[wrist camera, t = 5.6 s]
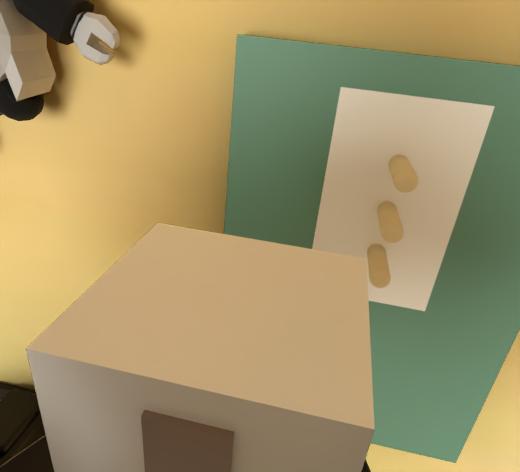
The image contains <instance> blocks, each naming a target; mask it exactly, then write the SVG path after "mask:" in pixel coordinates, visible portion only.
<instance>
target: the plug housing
mask: <svg viewBox="0 0 520 472" xmlns="http://www.w3.org/2000/svg"><path fill="white" fill-rule="evenodd" d="M26 352H27V356H28V361H29V365H30V369H31V373H32V378H33V382H34V386H35V391H36V395H37V399H38V404H39V408H40V412H41V417H42V421H43V425H44V430H45V434H46V438H47V442H48V447H49V451H50V455H51V460H52V464H53V468H54V472H361V471H362V468H363V465H364V462H365V458H366V455H367V452H368V449H369V446H370V442H371V439H372V436H373V433H374V430H375V427H374V406H373V385H372V364H371V343H370V322H369V300H368V279H367V259H366V258H360V257H354V256H349V255H343V254H337V253H331V252H325V251H320V250H314V249H308V248H302V247H297V246H291V245H285V244H279V243H273V242H268V241H262V240H256V239H250V238H244V237H239V236H233V235H227V234H221V233H215V232H210V231H204V230H198V229H192V228H186V227H181V226H175V225H169V224H163V223H157V224H156V225H155V226H154V227H153V228H152V229H151V230H150V231H149V232H148V233H146V234H145V235H144V236H143V237H142V238H141V239H140V240H139V241H138V242H137V243H136V244H135V245H134V246H133V247H132V248H131V249H130V250H129V251H128V252H127V253H125V254H124V255H123V256H122V257H121V258H120V259H119V260H118V261H117V262H116V263H115V264H114V265H113V266H112V267H111V268H110V269H109V270H108V271H107V272H106V273H105V274H103V275H102V276H101V277H100V278H99V279H98V280H97V281H96V282H95V283H94V284H93V285H92V286H91V287H90V288H89V289H88V290H87V291H86V292H85V293H84V294H82V295H81V296H80V297H79V298H78V299H77V300H76V301H75V302H74V303H73V304H72V305H71V306H70V307H69V308H68V309H67V310H66V311H65V312H64V313H63V314H62V315H60V316H59V317H58V318H57V319H56V320H55V321H54V322H53V323H52V324H51V325H50V326H49V327H48V328H47V329H46V330H45V331H44V332H43V333H42V334H41V335H39V336H38V337H37V338H36V339H35V340H34V341H33V342H32V343H31V344H30V345H29V346H28V347H27V348H26Z"/></svg>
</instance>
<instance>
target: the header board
mask: <svg viewBox="0 0 520 472" xmlns="http://www.w3.org/2000/svg"><path fill="white" fill-rule="evenodd" d="M224 234H227V235H233V236H239V237H244V238H250V239H256V240H262V241H268V242H273V243H279V244H285V245H291V246H297V247H302V248H308V249H314V250H320V251H325V252H331V253H337V254H343V255H349V256H354V257H360V258H366V259H367V279H368V300H369V322H370V343H371V364H372V385H373V406H374V427H375V430H374V433H373V436H372V439H371V442H370V443H372V444H376V445H381V446H385V447H389V448H394V449H398V450H402V451H406V452H411V453H415V454H419V455H424V456H428V457H432V458H437V459H441V460H445V461H449V462H454V463H456V461H457V459H458V457H459V455H460V453H461V451H462V449H463V446H464V444H465V442H466V440H467V438H468V436H469V434H470V432H471V430H472V428H473V425H474V423H475V421H476V419H477V417H478V415H479V413H480V411H481V409H482V407H483V405H484V402H485V400H486V398H487V396H488V394H489V392H490V390H491V388H492V386H493V384H494V382H495V379H496V377H497V375H498V373H499V371H500V369H501V367H502V365H503V363H504V361H505V358H506V356H507V354H508V352H509V350H510V348H511V346H512V344H513V342H514V340H515V338H516V335H517V333H518V331H519V329H520V66H516V65H507V64H498V63H489V62H480V61H471V60H463V59H454V58H445V57H436V56H427V55H418V54H409V53H401V52H392V51H383V50H374V49H365V48H356V47H347V46H339V45H330V44H321V43H312V42H303V41H294V40H286V39H277V38H268V37H259V36H250V35H240V34H237V47H236V62H235V76H234V91H233V106H232V120H231V135H230V150H229V164H228V179H227V194H226V208H225V223H224Z"/></svg>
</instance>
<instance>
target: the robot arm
mask: <svg viewBox="0 0 520 472" xmlns="http://www.w3.org/2000/svg"><path fill="white" fill-rule="evenodd" d="M0 472H54V468H53V464H52V460H51V455H50V451H49V447H48V442H47V438H46V434H45V430H44V425H43V421H42V417H41V412H40V408H39V404H38V399H37V395H36V392H35V391H31V390H27V389H22V388H18V387H14V386H10V385H6V384H2V383H0ZM361 472H371V471H370V469H369V466H368V464H367V461H366V459H365V462H364V465H363V468H362V471H361Z"/></svg>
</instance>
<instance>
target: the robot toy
mask: <svg viewBox="0 0 520 472" xmlns="http://www.w3.org/2000/svg"><path fill="white" fill-rule="evenodd" d="M93 9H94V5H93V4H92V3H91V2H89V1H88V0H0V115H3V114H4V115H6V116H7V117H9V118H11V119H14V120H17V121H24V120H31V119H33V118H35V117H36V116H37V115H38V114H39V113H40V112H41V111H42V109H43V105H44V99H43V95H42V94H43V93H46V92H50V90H51V88H52V85H53V82H54V80H55V77H56V73H55V70H54V67H53V65H52V62H51V59H50V56H49V53H48V50H47V34H48V35H49V36H51V37H52V38H53V39H55V40H56V41H57V42H59V43H63V44H66V45H68V44H71V43H73V42H75V44H76V46H77V47H78V49H79V51H80V52H81V54H82V55H83V56H84V57H85V58H86V59H89V60H91V61H93V62H95V63H97V64H99V65H103V64H106V63H108V62H110V61H111V60H112V58H113V56H114V54H113V53H111V52H110V51H108V50H107V49H106V48H105V47H103V46H102V45H101V44H100V43H98V41H99V39H101V40H102V41H104V42H105V43H107V44H108V45H109V46H110V47H111V48H112V49H114V48H118V46H119V44H120V35H119V32H118V31H117V29H116V28H115V27H114V26H113V25H112V24H111V22H110V21H109V20H108V19H107V18H106V17H105V16H104V15H100V14H95V13H93Z"/></svg>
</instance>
